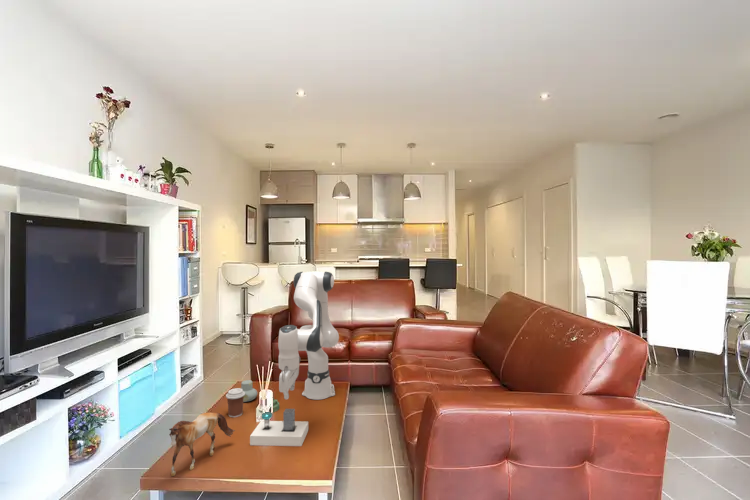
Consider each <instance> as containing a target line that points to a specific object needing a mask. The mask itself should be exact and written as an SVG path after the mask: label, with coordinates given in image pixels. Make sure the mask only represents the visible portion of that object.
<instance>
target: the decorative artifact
mask: <svg viewBox="0 0 750 500" xmlns="http://www.w3.org/2000/svg"><path fill="white" fill-rule="evenodd" d="M272 398H273V413H275V412H278V411H279V410H280V402H279V401H278V399H277V398H276V399H275V398H274V397H272Z"/></svg>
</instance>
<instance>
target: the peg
mask: <svg viewBox="0 0 750 500" xmlns="http://www.w3.org/2000/svg"><path fill="white" fill-rule="evenodd" d="M295 411H296V409H295V408H285V409H284V410H283V419H282V421H283V426H284V432H294V431H295V421H296V417H295V416H296V413H295Z"/></svg>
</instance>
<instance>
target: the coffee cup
mask: <svg viewBox="0 0 750 500" xmlns="http://www.w3.org/2000/svg"><path fill="white" fill-rule="evenodd" d="M244 396H245V392H244V391H243V389H241V387H236V388H232V389H228V391H227V393H226V395H225V398H226V399H227V410H228V416H229V417H230V418H238V417H241V416H242V415H243V408H244V402H243V399H244Z"/></svg>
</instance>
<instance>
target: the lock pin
mask: <svg viewBox="0 0 750 500" xmlns="http://www.w3.org/2000/svg"><path fill="white" fill-rule="evenodd" d="M271 418H273V413H271V412H265V413H262V414H261V419H262V420H263V421H264V429H265V430H268V429H269V428H270V427H269V421H270V419H271Z"/></svg>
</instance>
